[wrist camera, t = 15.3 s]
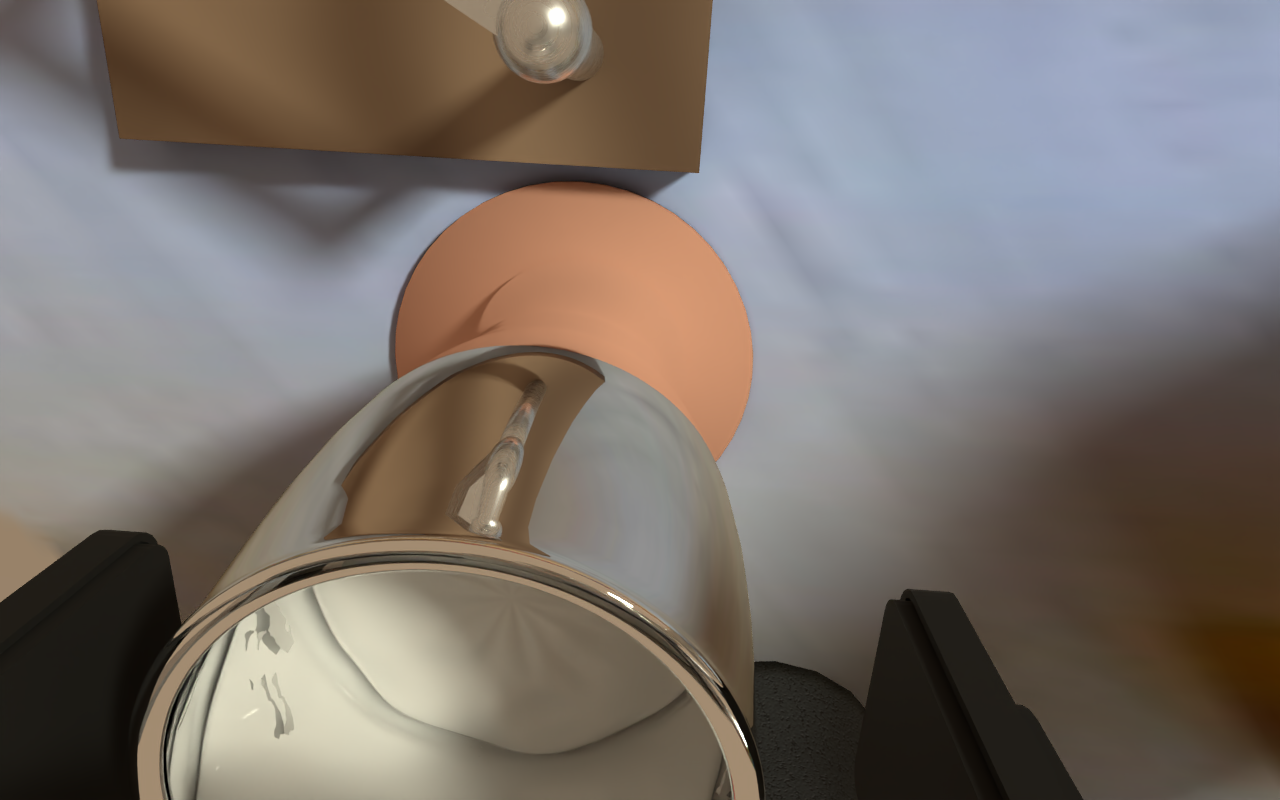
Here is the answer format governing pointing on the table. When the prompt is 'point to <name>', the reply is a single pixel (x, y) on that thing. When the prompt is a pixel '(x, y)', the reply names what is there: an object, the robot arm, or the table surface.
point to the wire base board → (405, 81)
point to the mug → (805, 733)
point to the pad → (599, 231)
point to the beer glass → (482, 586)
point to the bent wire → (540, 37)
